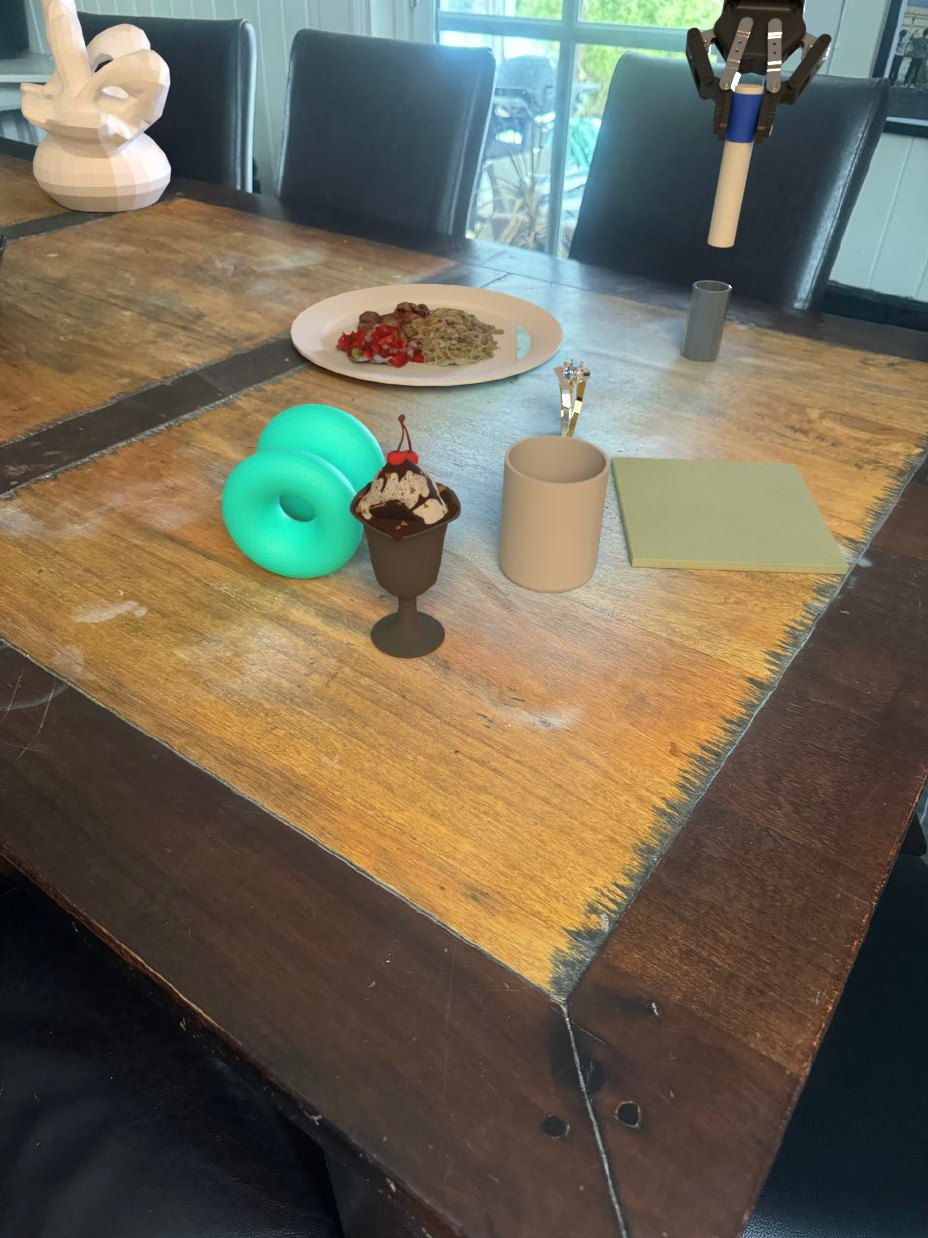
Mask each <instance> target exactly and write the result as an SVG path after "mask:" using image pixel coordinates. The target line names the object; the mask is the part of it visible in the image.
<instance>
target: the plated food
mask: <svg viewBox="0 0 928 1238" xmlns="http://www.w3.org/2000/svg"><path fill="white" fill-rule="evenodd" d="M517 326H519V327H520V328H521V329H523V330H524V332H526V334H527V335H528V337H529V341H530V347H529V350H528V352H527V353H526V354H525V355H523V357H521V358H520V359H519V358H518V337H517V336H518V335H517V333H518V332H517V331H518V330H517ZM289 332H290V337H291V341H292V345H293V347H295V349H296V350H297V351H298V353H300V355H302V357H305V358H306V359H307V360H309V361H311V362H312V363H314V364H316V365H317V366H320V367H322V368H324V369H327V370H329V371H332V372H334V373H337V374H341V375H343V376H347V377H351V378H355V379H359V380H364V381H370V382H375V383H382V384H389V385H401V386H414V387H433V386H435V387H448V386H449V387H450V386H460V385H461V386H462V385H471V384H473V385H474V384H478V383H479V384H480V383H485V382H491V381H496V380H497V381H498V380H501V379H505V378H508V377H512V376H515V375H519V374H522V373H525V372H528V371H531V370H532V369H534V368H536V367H540V366H541V365H543V364H544V363H546V362H547V361H549V360H550V359H551V358H553V356H555V355H556V353H557V352H558V351H559V349H560V348H561V347H562V344H563V343H562V341H563V335H564V332H563V329H562V326H561V324H560V322H559V321H558V320H557V319H556V318H555V317H554V316H553V315H552V313H550V312H549V311H547V310H545V309H544V308H542V307H541V306H539V305H537V304H535V303H532V302H530V301H529V300H525V299H523V298H520V297H517V296H513V295H511V294H508V293H504V292H499V291H496V290H490V289H487V288H482V287H481V288H480V287H472V286H465V285H457V284H444V283H443V284H441V283H406V284H405V283H404V284H389V285H388V284H387V285H381V286H374V287H365V288H361V289H356V290H351V291H347V292H343V293H339V294H337V295H333V296H330V297H326V298H325V299H322V300H320V301H318V302H315V303H314V304H311V305H310V306H309V307H306V309H305V310H303V311H300V313H299V314H298V315H297V317H296V318H295V319H294V320H293V321H292V325H291V328H290V331H289Z"/></svg>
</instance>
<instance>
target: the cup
mask: <svg viewBox="0 0 928 1238" xmlns="http://www.w3.org/2000/svg"><path fill="white" fill-rule="evenodd" d="M503 460H504V461H503V462H504V463H503V478H502V479H503V481H502V498H501V514H500V515H501V516H500V531H499V532H500V534H499V551H498V552H499V553H498V558H499V559H498V561H499V565H500V568H501V569H500V570H502V572H503V573H504V574H505V575H506V577H507V578H508V579H509V580H510V581H511V582H513V584H515V585H517V586H519V587H521V588H524V589H526V590H528V591H529V590H530V591H533V592H537V593H545V594H556V593H557V594H558V593H567V592H569V591H574V590H576V589H578V588H581V587H582V586H584V584H586V583H587V582H588V581H589V580H590V579H591V578H592V577H593V575H594V573H595V571H596V568H597V564H598V558H599V549H600V542H601V536H602V527H603V521H604V520H603V519H604V512H605V506H606V499H607V498H606V497H607V492H608V491H607V490H608V483H609V476H610V470H611V469H610V468H611V461H610V460H611V459H610V458H609V456H608V454H607V453H606V452H605V451H604V450H603V449H602V448H601V447H599V446H598V445H595V444H593V443H591V442H590V441H587V440H583V439H581V438H577V437H567V436H560V435H555V434H550V435H549V434H547V435H537V436H536V435H535V436H532V437H531V436H529V437H527V438H523V439H521V440H517V441H516V442H515V443H513V444H511V445H510V446H509V447H508V448H507V450H505V454H504V459H503Z"/></svg>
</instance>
